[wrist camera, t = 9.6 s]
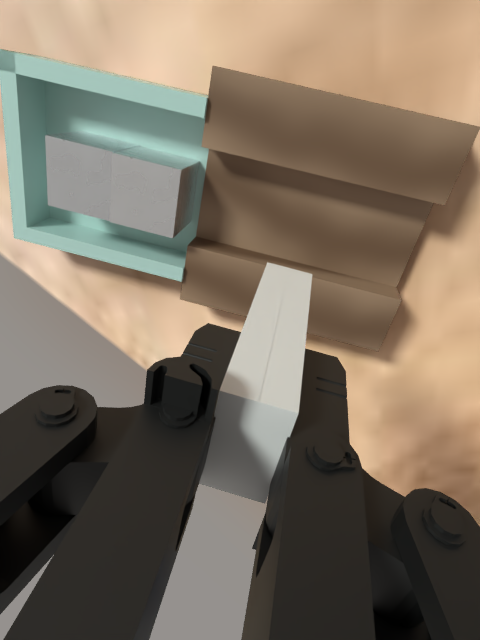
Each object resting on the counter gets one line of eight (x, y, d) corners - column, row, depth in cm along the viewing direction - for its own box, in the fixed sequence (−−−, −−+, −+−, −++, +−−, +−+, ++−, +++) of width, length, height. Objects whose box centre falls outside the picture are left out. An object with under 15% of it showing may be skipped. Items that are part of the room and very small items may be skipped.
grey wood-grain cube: (140, 146, 26) (112, 152, 22) (200, 160, 26) (181, 169, 22) (135, 207, 28) (109, 222, 24) (191, 221, 28) (172, 238, 24)
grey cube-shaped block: (81, 130, 26) (44, 134, 23) (140, 145, 26) (112, 151, 22) (81, 192, 28) (48, 205, 25) (136, 206, 28) (109, 221, 24)
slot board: (224, 69, 24) (212, 65, 21) (462, 124, 23) (480, 127, 20) (192, 282, 30) (180, 299, 28) (373, 329, 30) (378, 351, 27)
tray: (34, 54, 25) (-3, 48, 22) (220, 98, 24) (206, 97, 21) (42, 225, 30) (14, 237, 28) (194, 264, 30) (181, 281, 27)
